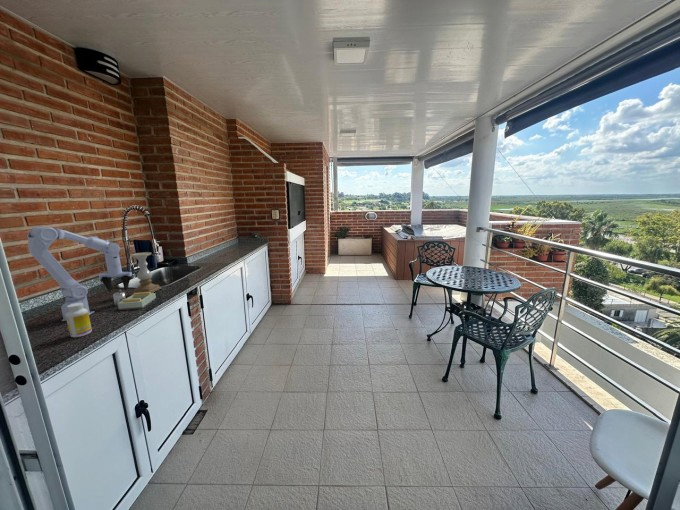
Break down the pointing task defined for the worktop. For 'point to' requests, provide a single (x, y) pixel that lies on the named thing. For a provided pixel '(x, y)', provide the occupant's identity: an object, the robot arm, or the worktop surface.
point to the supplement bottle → (78, 320)
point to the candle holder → (144, 275)
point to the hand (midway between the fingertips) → (118, 289)
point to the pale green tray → (137, 301)
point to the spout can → (119, 297)
